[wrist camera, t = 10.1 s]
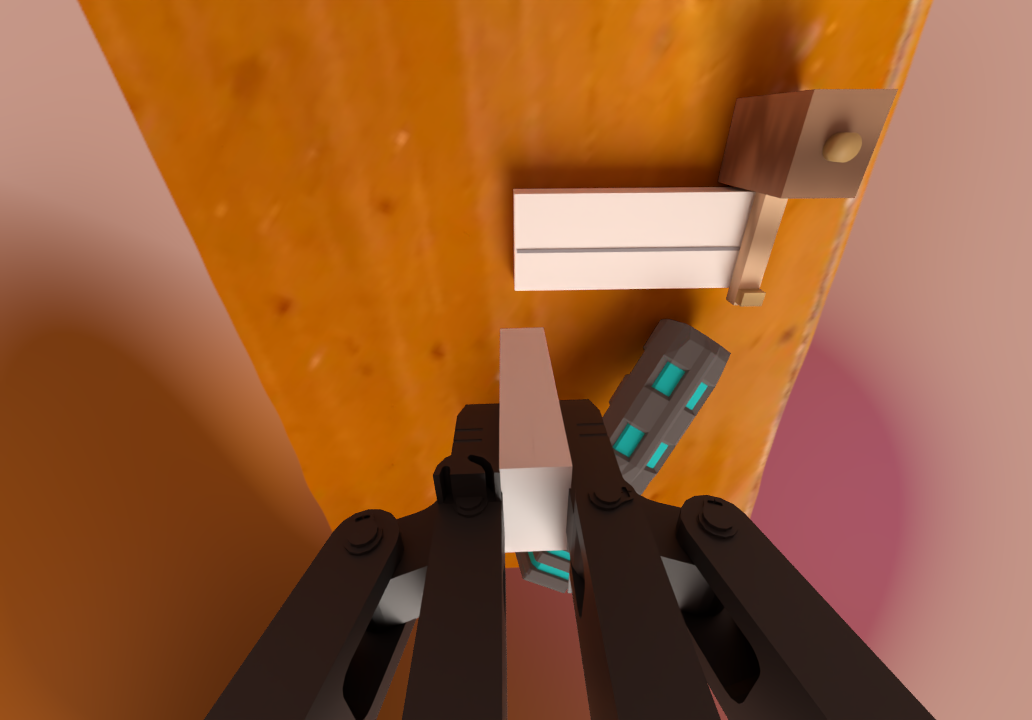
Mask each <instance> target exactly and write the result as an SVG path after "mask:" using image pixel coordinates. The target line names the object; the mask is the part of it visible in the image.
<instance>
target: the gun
mask: <svg viewBox="0 0 1032 720" xmlns="http://www.w3.org/2000/svg"><path fill="white" fill-rule="evenodd" d="M643 348H644V350H645V351H644V353H643V354H642V356H641V358H640V359H639V361H638V362H637V364H636V365H635V367H634V369H633V370H632V372H631V373H630V374H627V375H625V377H624V378H623V380H622V382H621V383H620V385H619V386H618V388H617V390H616V391H615V393H614V394H613V396H612V397H611V399H610V401H609V403H610V406H609V408H608V410H607V411H606V413H605V414H604V416H603V417H602V419H603V422H604V425H605V428H606V431H607V435H608V436H609V439H610V442H611V445H612V448H613V451H614V454H615V457H616V459H617V462H618V465H619V468H620V471H621V474H622V476H623V478H624V480H625V481H626V482H628V483H629V484H630V485H631V486H633V488H634V490H635V491H636V493H637V494H639V495H641V494H642V493H643V492H644V490H645V489H646V487H647V485H648V484H649V482H650V481H651V480H652V479H653V478H654V477H655V475H656V474H657V473H658V472H659V470H660V469H661V467H662V466H663V464H664V463H665V461H666V460H667V458H668V457H669V455H670V454H671V452H672V451H673V449H674V448H675V446H676V445H677V443H678V442H679V440H680V439H681V437H682V436H683V434H684V433H685V431H686V430H687V428H688V427H689V425H690V424H691V422H692V421H693V419H694V418H695V416H696V415H697V413H698V412H699V410H700V409H701V407H702V406H703V404H704V403H705V401H706V400H707V398H708V397H709V395H710V394H711V392H712V391H713V389H714V388H715V386H716V384H717V382H718V380H719V378H720V376H721V374H722V372H723V370H724V367H725V365H726V363H727V361H728V358H729V356H730V354H731V353H730V352H728V351H727V350H726V349H724V348H723V347H722V346H721V345H719V344H718V343H716V342H715V341H713V340H712V339H710V338H709V337H707V336H706V335H704V334H702V333H701V332H699V331H698V330H696V329H694V328H693V327H691V326H689V325H687V324H685V323H681V322H678V321H674V320H671V319H661V320H660V322H659V323H658V325H657V326H656V328H655V329H654V331H653V333H652V334H651V336H650V337H649V339H648V341H647V342H646V344H645V345H644V347H643ZM515 553H516V557H517V560H518V564H519V567H520V570H521V574H522V578H523V579H524V580H527V581H530V582H533V583H536V584H539V585H542V586H545V587H547V588H550V589H553V590H556V591H559V592H562V593H565V591H566V590H567V589H568V580H569V568H570V554H569V547H568V541H567V550H553V551H528V552H515Z"/></svg>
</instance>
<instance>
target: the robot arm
mask: <svg viewBox="0 0 1032 720" xmlns="http://www.w3.org/2000/svg"><path fill="white" fill-rule="evenodd" d="M433 479H434V485H435V490H436V496H437V501H436V502H435V503H434V504H432V505H431V506H429V507H428V508H426V509H424V510H422V511H420V512H417V513H415V514H412V515H408V516H405V517H402V518H399V519H396V518H395V517H394V516H393V515H392V514H391V513H389V512H386V511H384V510H381V509H368V510H365V511H362V512H359V513H355V514H354V515H352V516H351V517H349V518H347V519H346V520H344V521H343V522H342V523H341V524H340V525H339V526H338V527H337V528H336V529H335V530H334V531H333V533H332V534H331V536H330V537H329V539H328V540H327V542H326V543H325V544H324V546H323V547H322V549H321V550H320V552H319V553H318V555H317V556H316V557H315V559H314V560H313V562H312V563H311V565H310V566H309V568H308V569H307V571H306V572H305V574H304V575H303V577H302V578H301V579H300V581H299V582H298V584H297V585H296V587H295V588H294V589H293V591H292V592H291V594H290V595H289V597H288V598H287V600H286V601H285V603H284V604H283V605H282V607H281V608H280V610H279V611H278V613H277V614H276V616H275V617H274V619H273V620H272V621H271V623H270V624H269V626H268V627H267V629H266V630H265V632H264V633H263V635H262V636H261V637H260V639H259V640H258V642H257V643H256V645H255V646H254V648H253V649H252V651H251V652H250V653H249V655H248V656H247V658H246V659H245V661H244V662H243V664H242V665H241V667H240V668H239V670H238V671H237V672H236V674H235V675H234V677H233V678H232V680H231V681H230V683H229V684H228V685H227V687H226V688H225V690H224V691H223V693H222V694H221V696H220V697H219V698H218V700H217V702H216V703H215V704H214V706H213V707H212V709H211V710H210V712H209V713H208V714H207V716H206V717H205V719H204V720H376V719H377V716H378V713H379V711H380V709H381V706H382V704H383V701H384V699H385V696H386V694H387V691H388V688H389V686H390V684H391V681H392V678H393V676H394V673H395V671H396V668H397V666H398V663H399V661H400V658H401V656H402V653H403V651H404V648H405V646H406V643H407V641H408V638H409V636H410V633H411V631H412V628H413V626H414V623H415V621H416V618H418V617H419V620H418V626H417V632H416V638H415V644H414V650H413V657H412V662H411V668H410V674H409V680H408V686H407V692H406V699H405V705H404V711H403V716H402V720H507V656H506V655H507V654H506V653H507V652H506V651H507V649H506V574H505V552H528V551H553V550H567V541H568V547H569V554H570V568H569V580H568V593H572V595H573V602H574V609H575V616H576V622H577V629H578V636H579V642H580V649H581V656H582V663H583V669H584V676H585V683H586V689H587V696H588V703H589V710H590V716H591V720H721V719H720V716H719V714H718V711H717V708H716V706H715V703H714V700H713V698H712V695H711V692H710V689H709V686H710V688H711V690H712V692H713V694H714V695H715V697H716V699H717V700H718V702H719V704H720V706H721V707H722V709H723V711H724V712H725V714H726V716H727V718H728V720H936V719H935V718H934V717H933V716H932V715H931V714H930V713H929V712H928V711H927V710H926V709H925V707H924V706H923V705H922V704H921V703H920V702H919V701H918V700H917V699H916V698H915V697H914V696H913V694H912V693H911V692H910V691H909V690H908V689H907V688H906V687H905V686H904V685H903V684H902V683H901V682H900V680H899V679H898V678H897V677H896V676H895V675H894V674H893V673H892V672H891V671H890V670H889V669H888V667H886V665H885V664H884V663H883V662H882V661H881V660H880V659H879V658H878V657H877V656H876V655H875V653H874V652H873V651H872V650H871V649H870V648H869V647H868V646H867V645H866V644H865V643H864V642H863V641H862V639H861V638H860V637H859V636H858V635H857V634H856V633H855V632H854V631H853V630H852V629H851V628H850V627H849V625H848V624H846V622H845V621H844V620H843V619H842V618H841V617H840V616H839V615H838V614H837V613H836V612H835V610H834V609H833V608H832V607H831V606H830V605H829V604H828V603H827V602H826V601H825V600H824V599H823V597H822V596H821V595H820V594H819V593H818V592H817V591H816V590H815V589H814V588H813V587H812V586H811V584H810V583H809V582H808V581H807V580H806V579H805V578H804V577H803V576H802V575H801V574H800V573H799V572H798V570H797V569H796V568H795V567H794V566H793V565H792V564H791V563H790V562H789V561H788V560H787V559H786V558H785V556H784V555H783V554H782V553H781V552H780V551H779V550H778V549H777V548H776V547H775V546H774V545H773V544H772V542H771V541H770V540H769V539H768V538H767V537H766V536H765V535H764V534H763V533H762V532H761V531H760V529H759V528H758V527H757V526H756V525H755V524H754V523H753V522H752V521H751V520H750V519H749V518H748V517H747V515H746V514H745V513H743V512H742V511H741V510H740V509H739V508H737V507H736V506H735V505H734V504H732V503H730V502H728V501H726V500H723V499H721V498H718V497H714V496H709V495H701V496H694V497H692V498H690V499H688V500H686V501H685V503H684V504H683V506H682V507H681V508H680V507H676V506H671V505H667V504H663V503H658V502H655V501H652V500H649V499H646V498H645V497H643V496H641V495H639V494H637V493H636V491H635V490H634V488H633V486H631V485H630V484H629V483H628V482H626V481H625V480H624V478H623V476H622V474H621V471H620V468H619V465H618V462H617V459H616V457H615V454H614V451H613V448H612V445H611V442H610V439H609V436H608V435H607V431H606V428H605V425H604V422H603V419H602V416H601V413H600V410H599V409H598V408H597V407H596V406H595V405H594V404H593V403H592V402H591V401H590V400H589V399H583V400H559V399H558V395H557V390H556V385H555V380H554V375H553V371H552V366H551V361H550V356H549V352H548V347H547V342H546V337H545V332H544V328H543V327H542V328H509V329H500V404H470V405H465V407H464V408H463V409H462V411H461V412H460V413H459V414H458V416H457V421H456V427H455V434H454V443H453V447H452V453H451V455H450V456H448V457H446V458H445V459H444V460H443V461H442V462H441V463H439V464H438V465H437V467H436V469H435V472H434V474H433ZM707 683H708V684H707ZM708 685H709V686H708Z"/></svg>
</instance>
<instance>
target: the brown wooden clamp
mask: <svg viewBox="0 0 1032 720" xmlns="http://www.w3.org/2000/svg"><path fill="white" fill-rule="evenodd" d="M897 90H898V89H814V90H805V91H796V92H788V93H779V94H770V95H762V96H753V97H744V98H737V100H736V105H735V109H734V113H733V118H732V122H731V126H730V131H729V135H728V139H727V144H726V148H725V152H724V157H723V161H722V165H721V170H720V174H719V178H718V182H720V183H724V184H727V185H731V186H735V187H739V188H743V189H746V190H750V191H754V192H756V193H755V197H754V200H753V204H752V208H751V211H750V215H749V218H748V222H747V226H746V229H745V233H744V236H743V240H742V244H741V247H740V251H739V254H738V258H737V262H736V265H735V269H734V272H733V276H732V279H731V283H730V287H729V290H728V294H727V297H726V300H728V301H729V302H730V303H732V304H733V305H739V306H762V303H763V300H764V297H765V294H766V293H765V292H764V291H762V290H761V289H759V288H760V284H761V281H762V278H763V275H764V272H765V269H766V266H767V263H768V259H769V256H770V253H771V250H772V247H773V244H774V241H775V237H776V234H777V231H778V228H779V225H780V222H781V219H782V215H783V212H784V209H785V206H786V203H787V200H788V198H855V196H856V193H857V191H858V188H859V186H860V183H861V181H862V178H863V176H864V173H865V171H866V168H867V166H868V163H869V161H870V158H871V156H872V153H873V151H874V148H875V146H876V143H877V141H878V138H879V136H880V133H881V131H882V128H883V125H884V123H885V120H886V118H887V115H888V113H889V110H890V108H891V105H892V103H893V100H894V98H895V95H896V93H897Z"/></svg>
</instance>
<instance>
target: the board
mask: <svg viewBox="0 0 1032 720" xmlns="http://www.w3.org/2000/svg"><path fill="white" fill-rule="evenodd" d="M755 193H756V192H754V191H750V190H746V189H743V188H739V187H662V188H552V189H513V211H514V286H515V291H528V290H595V289H662V288H728V287H730V283H731V279H732V276H733V272H734V269H735V265H736V262H737V258H738V254H739V251H740V247H741V244H742V240H743V236H744V233H745V229H746V226H747V222H748V218H749V215H750V211H751V208H752V204H753V200H754V197H755Z"/></svg>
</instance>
